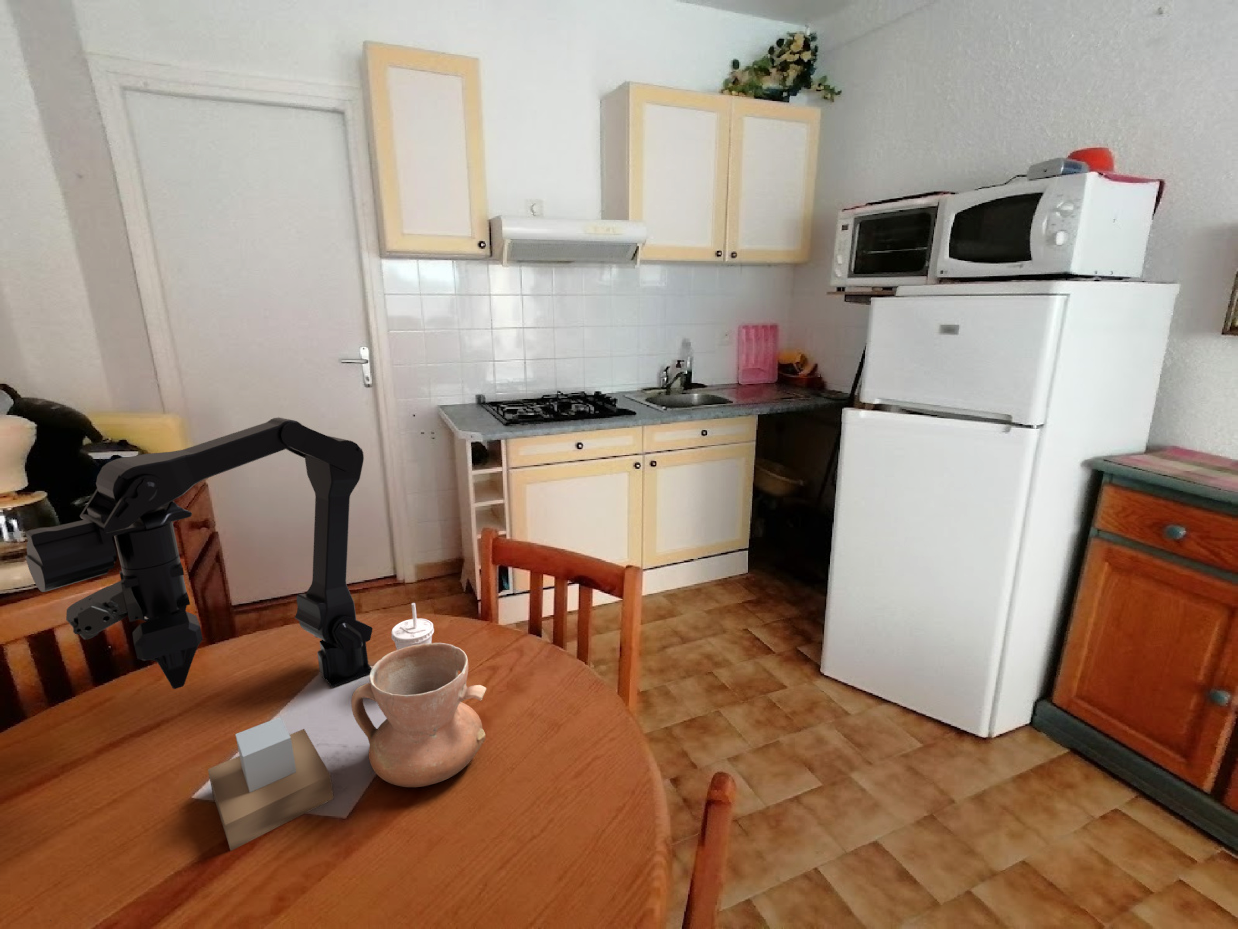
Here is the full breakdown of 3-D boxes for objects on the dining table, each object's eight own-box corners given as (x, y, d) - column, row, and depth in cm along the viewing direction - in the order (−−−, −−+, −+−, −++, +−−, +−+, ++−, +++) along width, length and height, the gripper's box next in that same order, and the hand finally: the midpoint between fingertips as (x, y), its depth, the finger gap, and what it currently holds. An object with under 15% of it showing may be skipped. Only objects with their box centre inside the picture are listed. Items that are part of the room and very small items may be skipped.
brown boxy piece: (307, 753, 82) (304, 728, 81) (334, 801, 74) (330, 775, 73) (213, 795, 75) (207, 769, 74) (231, 854, 67) (225, 825, 66)
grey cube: (241, 768, 74) (235, 734, 73) (286, 749, 77) (281, 716, 76) (249, 792, 70) (243, 757, 69) (296, 772, 73) (290, 737, 72)
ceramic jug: (505, 725, 87) (498, 638, 83) (473, 805, 73) (464, 704, 69) (386, 720, 88) (375, 634, 85) (332, 797, 74) (316, 697, 71)
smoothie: (425, 696, 93) (418, 615, 90) (388, 690, 95) (379, 611, 91) (445, 672, 99) (438, 596, 96) (410, 667, 101) (402, 592, 97)
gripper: (64, 553, 75) (92, 662, 79) (60, 609, 62) (94, 737, 66) (173, 532, 82) (193, 633, 86) (190, 578, 69) (214, 695, 73)
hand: (174, 670), depth 78 cm, fingers open, 9 cm apart
